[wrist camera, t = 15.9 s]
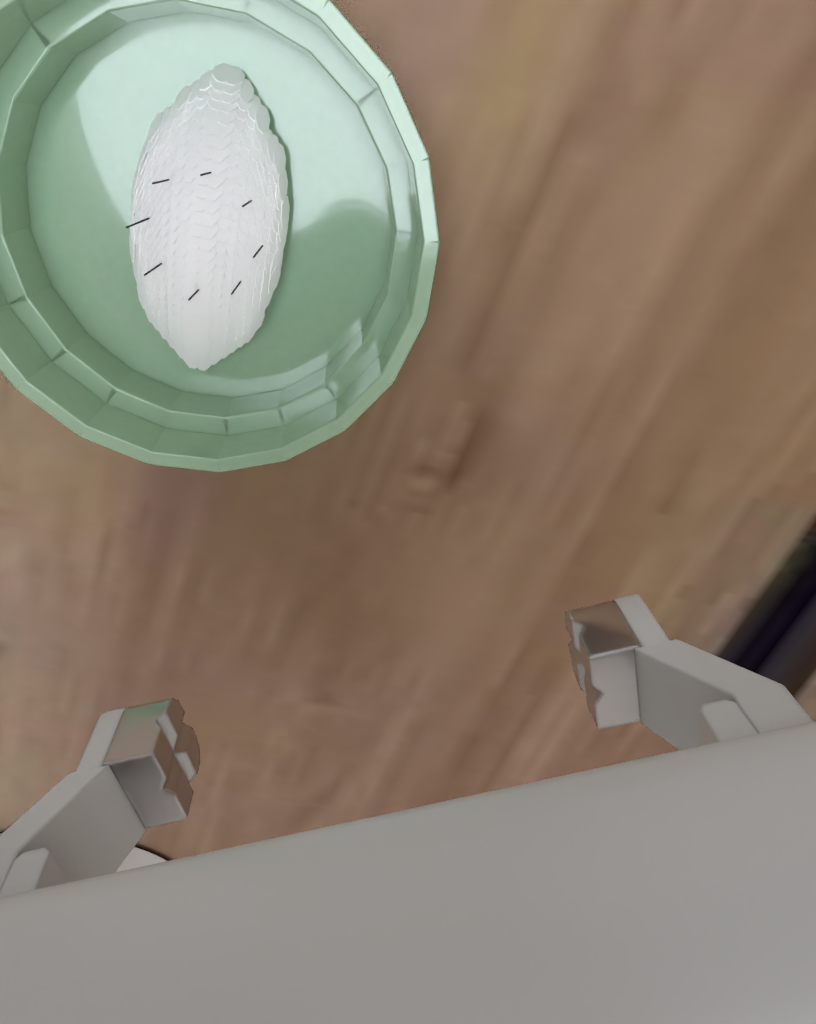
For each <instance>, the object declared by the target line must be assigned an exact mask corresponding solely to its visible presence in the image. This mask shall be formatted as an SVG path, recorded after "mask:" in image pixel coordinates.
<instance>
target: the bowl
mask: <svg viewBox="0 0 816 1024" xmlns="http://www.w3.org/2000/svg"><path fill="white" fill-rule="evenodd" d="M222 63H225V64H229V65H231V66H236V67H240V68H241V70H242V71H243V72H244V74H245V79H247V80H249V81H250V83H251V85H252V87H253V88H254V94H255V95H256V96H258V97H259V99H260V102H261V104H262V105H264V106H265V107H266V108H267V110H268V113H269V117H270V125H269V129H270V130H271V131H272V134H274V135H276V136H277V137H278V141H279V143H280V144H281V145H282V146H283V147H284V151H285V155H286V166H285V170H286V173H287V179H288V188H287V195H286V196H288V200H289V205H290V211H289V222H288V232H287V235H286V243H285V246H284V249H283V259H282V265H281V275H280V278H279V281H278V285H277V287H276V288H275V290H274V292H273V295H272V297H271V300H270V303H269V305H268V306H267V307H266V309H265V311H264V312H265V317H264V319H263V322H262V325H261V326H260V328H259V329H258V330H257V331H256V332H255V334H254V336H253V337H252V339H251V340H250V341H249V342H248V343H245V344H244V345H243V346H242V347H238V348H237V349H236V350H235V351H234V353H230V354H229V355H228V356H227V357H226V358H225V359H221V360H220V361H219V362H218V363H216V364H215V365H211V366H210V367H209V368H208V369H207V370H205V371H202V370H199V369H198V368H196V369H193V368H189V367H188V365H187V364H186V363H185V362H184V360H183V359H182V358H180V357H179V356H178V354H177V353H176V351H175V350H174V349H173V348H171V347H170V346H169V344H168V342H167V340H165V339H163V338H162V336H161V334H160V332H159V331H158V330H156V329H155V328H154V326H153V324H152V323H150V322H149V321H148V318H147V316H146V313H145V309H143V308H142V305H141V303H140V301H139V297H138V291H137V283H136V280H135V276H134V271H133V263H132V260H131V255H130V244H129V233H130V227H129V228H126V226H129V225H130V209H131V194H132V187H133V180H134V176H135V171H136V167H137V164H138V161H139V159H140V155H141V152H142V149H143V146H144V144H145V141H146V139H147V137H148V132H149V129H150V126H151V123H152V122H153V120H154V118H155V117H156V115H157V114H158V113H160V112H161V113H163V111H164V110H165V108H166V107H170V108H171V106H172V105H173V104H174V103H175V100H176V98H177V95H178V94H179V93H180V91H181V90H182V89H183V88H184V86H187V85H189V86H191V85H192V84H193V83H194V82H195V81H196V80H199V79H200V78H201V76H202V75H203V74H205V73H206V72H208V71H209V70H213V69H214V67H215V66H217V65H219V64H222ZM438 250H439V232H438V224H437V215H436V207H435V199H434V191H433V183H432V175H431V167H430V160H429V156H428V153H427V151H426V149H425V146H424V144H423V142H422V140H421V137H420V135H419V133H418V130H417V128H416V126H415V124H414V121H413V119H412V117H411V114H410V112H409V110H408V107H407V105H406V103H405V101H404V98H403V96H402V94H401V91H400V89H399V87H398V85H397V82H396V80H395V78H394V75H393V74H392V72H391V71H390V70H389V68H388V67H387V66H386V65H385V64H384V63H383V61H382V60H381V59H380V58H379V57H378V55H377V54H376V53H375V52H374V51H373V50H372V48H371V47H370V46H369V45H368V44H367V42H366V41H365V40H364V39H363V38H362V37H361V35H360V34H359V33H358V32H357V31H356V30H355V28H354V27H353V26H352V25H351V24H350V22H349V21H348V20H347V19H346V18H345V17H344V15H343V14H342V13H341V12H340V11H339V9H338V8H337V7H336V6H335V5H334V4H333V2H332V1H331V0H0V370H1V372H2V373H3V374H4V375H5V377H6V378H7V379H8V380H9V381H10V383H11V384H12V385H13V386H14V388H16V389H17V391H19V392H20V393H21V394H23V395H24V396H25V397H27V398H28V399H30V400H31V401H32V402H34V403H35V404H36V405H38V406H39V407H40V408H42V409H43V410H44V411H46V412H47V413H48V414H50V415H51V416H53V417H54V418H55V419H57V420H58V421H59V422H61V423H62V424H63V425H65V426H66V427H67V428H69V429H70V430H71V431H73V432H74V433H75V434H77V435H78V436H80V437H82V438H84V439H87V440H89V441H92V442H94V443H97V444H99V445H102V446H104V447H106V448H109V449H111V450H114V451H116V452H119V453H121V454H124V455H126V456H129V457H131V458H134V459H136V460H139V461H141V462H144V463H146V464H151V465H159V466H168V467H177V468H185V469H194V470H203V471H212V472H225V471H231V470H237V469H242V468H248V467H254V466H260V465H266V464H272V463H277V462H283V461H285V460H289V459H291V458H293V457H295V456H296V455H298V454H300V453H302V452H304V451H306V450H308V449H310V448H312V447H314V446H316V445H318V444H320V443H322V442H324V441H326V440H328V439H330V438H332V437H334V436H336V435H338V434H340V433H342V432H344V431H345V430H347V429H348V428H349V427H350V426H351V425H352V424H353V423H354V422H355V421H356V420H357V419H358V418H359V417H360V416H361V415H362V414H363V413H364V412H365V411H366V410H367V409H368V408H369V407H370V406H371V405H372V404H373V403H374V402H375V401H376V400H377V399H378V398H379V397H380V396H381V395H382V394H383V393H384V392H385V391H386V390H387V389H388V388H389V387H390V386H391V385H392V384H393V382H394V381H395V379H396V377H397V375H398V373H399V371H400V369H401V367H402V365H403V364H404V362H405V360H406V358H407V356H408V354H409V352H410V350H411V348H412V346H413V344H414V342H415V340H416V338H417V336H418V334H419V333H420V331H421V329H422V327H423V325H424V323H425V321H426V318H427V314H428V308H429V302H430V296H431V290H432V285H433V279H434V273H435V267H436V262H437V256H438Z"/></svg>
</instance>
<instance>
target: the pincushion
mask: <svg viewBox="0 0 816 1024" xmlns="http://www.w3.org/2000/svg"><path fill="white" fill-rule="evenodd" d="M269 125H270V117H269V113H268V110H267V108H266V107H265V106H264V105H262V104H261V102H260V99H259V97H258V96H256V95H255V94H254V88H253V87H252V85H251V83H250V81H249V80H247V79H245V74H244V72H243V71H242V70H241V68H240V67H236V66H231V65H229V64H225V63H222V64H219V65H217V66H215V67H214V69H213V70H209V71H208V72H206V73H205V74H203V75H202V76H201V78H200V79H199V80H196V81H195V82H194V83H193V84H192V85H191V86H189V85H187V86H184V88H183V89H182V90H181V91H180V93H179V94H178V95H177V98H176V100H175V103H174V104H173V105H172V106H171V108H170V107H166V108H165V110H164V111H163V113H161V112H160V113H158V114H157V115H156V117H155V118H154V120H153V122H152V123H151V126H150V129H149V132H148V137H147V139H146V141H145V144H144V146H143V149H142V152H141V155H140V159H139V161H138V164H137V167H136V171H135V176H134V180H133V187H132V194H131V209H130V225H129V226H126V228H129V227H130V233H129V244H130V255H131V260H132V263H133V271H134V276H135V280H136V283H137V291H138V297H139V301H140V303H141V305H142V308H143V309H145V313H146V316H147V318H148V321H149V322H150V323H152V324H153V326H154V328H155V329H156V330H158V331H159V332H160V334H161V336H162V338H163V339H165V340H167V342H168V344H169V346H170V347H171V348H173V349H174V350H175V351H176V353H177V354H178V356H179V357H180V358H182V359H183V360H184V362H185V363H186V364H187V365H188V367H189V368H193V369H196V368H198V369H199V370H202V371H205V370H207V369H208V368H209V367H210V366H211V365H215V364H216V363H218V362H219V361H220V360H221V359H225V358H226V357H227V356H228V355H229V354H230V353H234V351H235V350H236V349H237V348H238V347H242V346H243V345H244V344H245V343H248V342H249V341H250V340H251V339H252V337H253V336H254V334H255V332H256V331H257V330H258V329H259V328H260V326H261V325H262V322H263V319H264V317H265V312H264V311H265V309H266V307H267V306H268V305H269V303H270V300H271V297H272V295H273V292H274V290H275V288H276V287H277V285H278V281H279V278H280V275H281V265H282V259H283V249H284V246H285V243H286V235H287V232H288V222H289V211H290V205H289V200H288V196H286V195H287V188H288V179H287V173H286V170H285V166H286V155H285V151H284V147H283V146H282V145H281V144H280V143H279V141H278V137H277V136H276V135H274V134H272V131H271V130H270V129H269Z"/></svg>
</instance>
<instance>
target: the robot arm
mask: <svg viewBox="0 0 816 1024" xmlns="http://www.w3.org/2000/svg"><path fill="white" fill-rule="evenodd" d="M565 624H566V629H567V631H568V633H569V635H570V638H571V641H570V643H569V645H568V646H569V652H570V658H571V662H572V666H573V670H574V674H575V676H576V679H577V682H578V684H579V687H580V689H581V690H582V691H584V692H586V698H587V705H588V708H589V710H590V712H591V714H592V717H593V719H594V721H595V723H596V726H597V728H598V729H602V728H607V727H612V726H618V725H623V724H628V723H633V722H639V721H641V723H642V724H643V725H645V726H646V727H647V728H649V729H650V730H652V731H653V732H655V733H656V734H658V735H659V736H660V737H662V738H663V739H665V740H666V741H668V742H669V743H670V744H672V745H673V746H675V747H676V748H678V749H679V751H675V752H670V753H665V754H661V755H656V756H652V757H647V758H642V759H638V760H633V761H628V762H624V763H619V764H615V765H610V766H605V767H601V768H596V769H591V770H587V771H582V772H578V773H573V774H568V775H564V776H559V777H555V778H550V779H545V780H541V781H536V782H531V783H527V784H522V785H518V786H513V787H508V788H504V789H499V790H494V791H490V792H485V793H481V794H476V795H471V796H467V797H462V798H457V799H453V800H448V801H444V802H439V803H434V804H430V805H425V806H420V807H416V808H411V809H407V810H402V811H397V812H393V813H388V814H384V815H379V816H374V817H370V818H365V819H360V820H356V821H351V822H346V823H342V824H337V825H333V826H328V827H323V828H319V829H314V830H309V831H305V832H300V833H296V834H291V835H286V836H282V837H277V838H272V839H268V840H263V841H258V842H254V843H249V844H245V845H240V846H235V847H231V848H226V849H221V850H217V851H212V852H208V853H203V854H198V855H194V856H189V857H184V858H180V859H175V860H170V861H166V860H165V859H163V858H161V857H159V856H157V855H155V854H153V853H150V852H148V851H145V850H142V849H139V848H136V847H135V845H136V844H137V843H138V841H139V840H140V839H141V837H142V836H143V835H144V833H145V832H146V829H147V828H151V827H155V826H159V825H164V824H168V823H172V822H176V821H180V820H184V819H187V817H188V813H189V808H190V804H191V800H192V796H193V790H192V788H191V785H190V782H191V781H192V779H193V778H194V777H195V776H196V775H197V774H198V770H199V765H200V748H199V744H198V740H197V737H196V734H195V732H194V730H193V728H192V727H190V726H188V725H186V724H185V723H183V722H182V721H183V717H184V713H185V711H184V710H183V708H182V706H181V704H180V702H179V700H177V699H174V698H172V699H167V700H162V701H157V702H151V703H146V704H141V705H136V706H131V707H128V708H123V709H118V710H113V711H108V712H105V713H103V714H102V715H101V716H100V717H99V719H98V721H97V723H96V726H95V728H94V730H93V732H92V735H91V737H90V739H89V742H88V744H87V746H86V749H85V751H84V753H83V756H82V758H81V760H80V763H79V765H78V767H77V769H76V772H73V773H69V774H67V775H66V776H65V777H64V778H63V779H62V780H61V781H60V782H58V783H57V784H56V785H55V786H54V787H53V788H52V789H51V790H50V791H48V792H47V793H46V794H45V795H44V796H43V797H42V798H41V799H40V800H38V801H37V802H36V803H35V804H34V805H33V806H32V807H31V808H30V809H28V810H27V811H26V812H25V813H24V814H23V815H22V816H21V817H20V818H18V819H17V820H16V821H15V822H14V823H13V824H12V825H11V826H10V827H8V828H7V829H6V830H5V831H4V832H3V833H1V834H0V1024H816V721H812V720H811V719H810V717H809V716H808V715H807V714H806V712H805V711H804V710H803V709H802V707H801V706H800V705H799V704H798V703H797V701H796V700H795V699H794V698H793V696H792V695H791V694H790V693H789V691H788V690H787V689H786V688H785V686H784V685H782V684H779V683H777V682H775V681H772V680H770V679H768V678H766V677H763V676H761V675H759V674H756V673H754V672H752V671H749V670H747V669H745V668H742V667H740V666H738V665H735V664H733V663H731V662H728V661H726V660H724V659H721V658H719V657H717V656H714V655H712V654H710V653H708V652H705V651H703V650H701V649H698V648H696V647H694V646H691V645H689V644H687V643H684V642H682V641H680V640H677V639H676V640H671V641H670V640H669V639H668V637H667V636H666V634H665V633H664V631H663V630H662V628H661V626H660V625H659V623H658V622H657V620H656V619H655V617H654V616H653V614H652V613H651V611H650V610H649V608H648V607H647V605H646V604H645V602H644V601H643V599H642V598H641V596H640V595H638V594H633V595H629V596H625V597H621V598H617V599H613V600H612V601H608V602H603V603H599V604H595V605H590V606H586V607H581V608H577V609H573V610H568V611H565Z"/></svg>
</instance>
